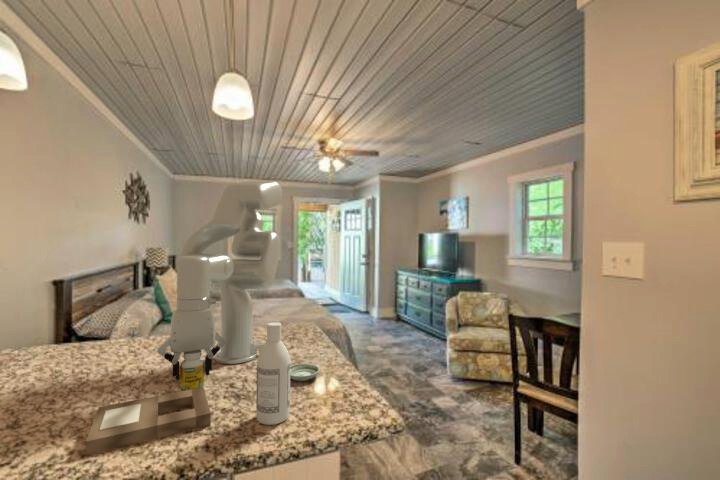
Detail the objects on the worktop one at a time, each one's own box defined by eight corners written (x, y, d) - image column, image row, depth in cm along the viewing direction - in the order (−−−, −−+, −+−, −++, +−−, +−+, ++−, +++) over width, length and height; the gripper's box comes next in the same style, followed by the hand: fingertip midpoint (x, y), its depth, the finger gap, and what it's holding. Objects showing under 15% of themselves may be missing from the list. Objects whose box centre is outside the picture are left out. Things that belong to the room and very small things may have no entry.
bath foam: (276, 406, 77) (277, 318, 77) (296, 416, 72) (297, 323, 73) (249, 418, 72) (250, 324, 72) (268, 430, 67) (270, 329, 67)
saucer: (326, 375, 96) (326, 366, 96) (307, 388, 87) (307, 378, 87) (298, 369, 100) (298, 361, 100) (277, 381, 91) (277, 372, 91)
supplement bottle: (202, 383, 89) (202, 347, 89) (205, 391, 84) (206, 352, 84) (179, 388, 86) (179, 350, 86) (181, 396, 81) (181, 356, 81)
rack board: (203, 397, 81) (203, 386, 81) (210, 425, 69) (210, 412, 69) (98, 418, 71) (99, 406, 71) (85, 456, 58) (85, 440, 58)
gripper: (227, 299, 92) (226, 365, 92) (153, 305, 84) (152, 377, 84) (232, 304, 86) (231, 374, 86) (152, 310, 77) (151, 389, 77)
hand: (192, 375), depth 85 cm, fingers open, 6 cm apart
